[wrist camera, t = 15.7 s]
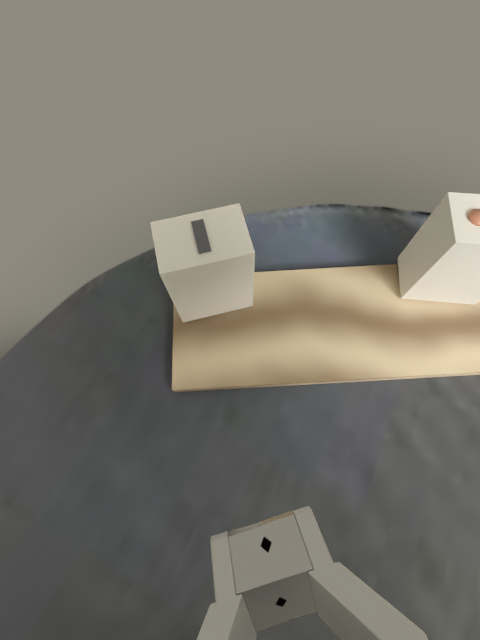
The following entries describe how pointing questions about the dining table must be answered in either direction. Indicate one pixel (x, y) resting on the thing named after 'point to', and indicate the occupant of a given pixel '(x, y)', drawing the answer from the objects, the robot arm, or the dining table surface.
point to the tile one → (206, 261)
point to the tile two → (445, 254)
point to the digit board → (326, 334)
